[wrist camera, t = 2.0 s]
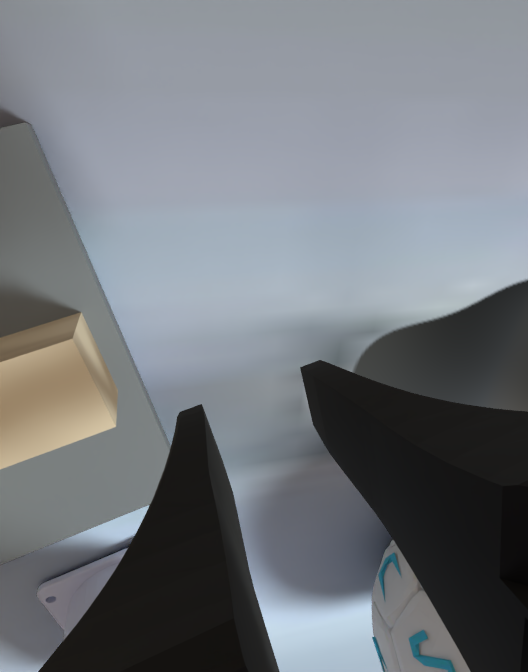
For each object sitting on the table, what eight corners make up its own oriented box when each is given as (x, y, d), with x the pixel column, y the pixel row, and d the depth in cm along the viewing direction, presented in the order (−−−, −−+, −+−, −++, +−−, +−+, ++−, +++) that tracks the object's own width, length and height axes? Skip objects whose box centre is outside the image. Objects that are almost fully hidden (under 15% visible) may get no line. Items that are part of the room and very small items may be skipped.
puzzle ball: (324, 496, 27) (515, 819, 14) (514, 427, 30) (821, 636, 17) (340, 633, 33) (481, 945, 20) (495, 565, 36) (707, 796, 23)
